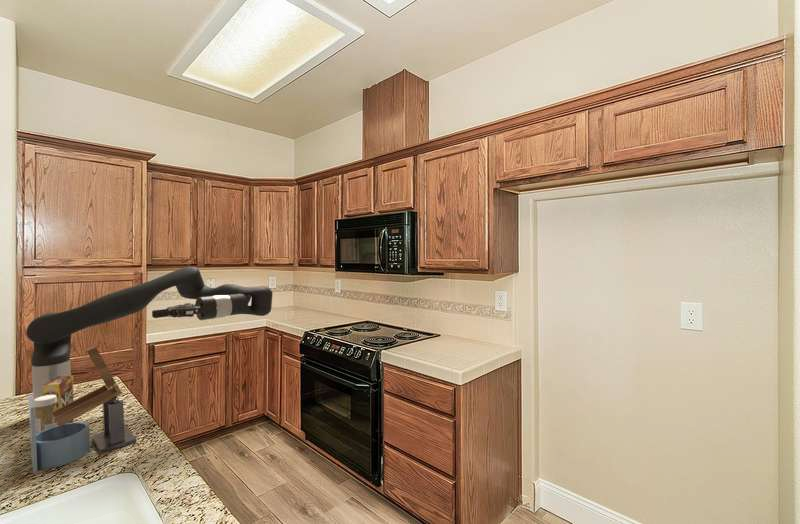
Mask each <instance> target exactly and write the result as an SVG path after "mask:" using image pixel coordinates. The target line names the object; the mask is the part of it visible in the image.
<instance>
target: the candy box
mask: <svg viewBox="0 0 800 524" xmlns="http://www.w3.org/2000/svg"><path fill="white" fill-rule="evenodd" d="M42 387H43V396H46V395H56V396H57V402H56V410H57V409H59V408H61V407H63V406H65V405H67V404H69V403H71V402H73V401H74V375H73V374H71V375H66V376H59V377H56V378H55V379H53V380H51V381H50V382H48V383H46V384H45V385H43V386H42ZM73 422H75V419H74V420H72V421H70V422H68V423H73ZM57 426H58V425H57Z"/></svg>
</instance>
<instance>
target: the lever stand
mask: <svg viewBox="0 0 800 524" xmlns="http://www.w3.org/2000/svg"><path fill="white" fill-rule="evenodd" d="M112 401H113V402H112ZM112 401H111V400H109V401H107V402H105V403H103V404H102V418H103V419H102V420H103V421H102V422H103V431H102V432H99V433H95V434H92V435H91V437H92V438H91V439H92V440H93V441H92V442H93V443H94V445H95V447H96V449H97V451H98V453H99V454H102V455H103V454H105V453H107V452H111V451H113V450H118V449H120V448H123V447H127V446H129V445H133V444H134V443H137V438H136V436H135V435H134V434H133V432H132V430H131V429H130V428H129V427H128V425H125V415H124V413H125V411H124V401H123V400H122V399H121V400H120V399H119V397H118V398H113V400H112Z"/></svg>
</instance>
